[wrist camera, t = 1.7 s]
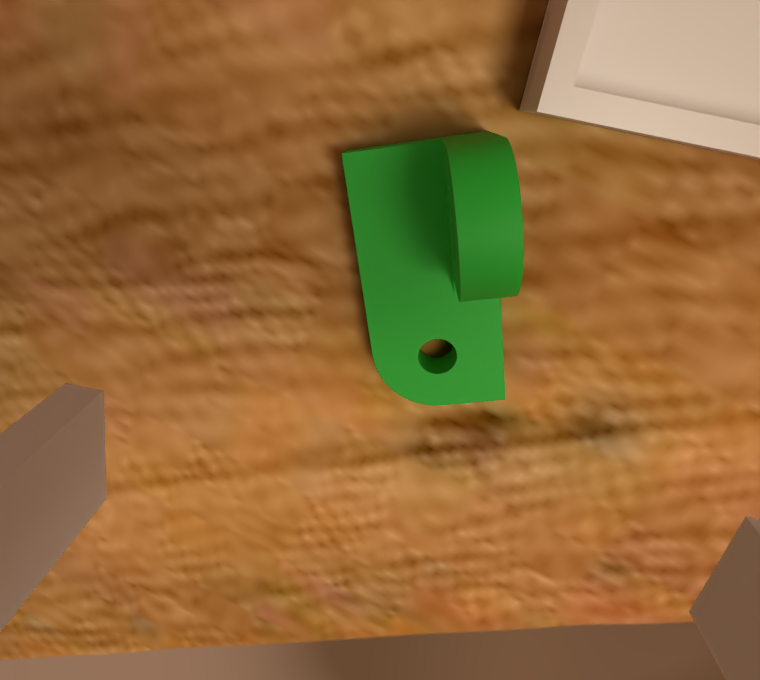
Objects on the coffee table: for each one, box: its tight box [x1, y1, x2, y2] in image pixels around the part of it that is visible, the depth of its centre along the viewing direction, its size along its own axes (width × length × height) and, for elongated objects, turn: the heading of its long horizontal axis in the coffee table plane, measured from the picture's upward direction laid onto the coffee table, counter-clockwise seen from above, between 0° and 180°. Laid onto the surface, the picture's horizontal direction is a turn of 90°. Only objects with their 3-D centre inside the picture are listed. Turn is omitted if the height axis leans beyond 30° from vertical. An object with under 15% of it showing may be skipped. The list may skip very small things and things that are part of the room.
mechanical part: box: [342, 131, 524, 405], centre depth 22 cm, size 12×6×8 cm, turn 8°
